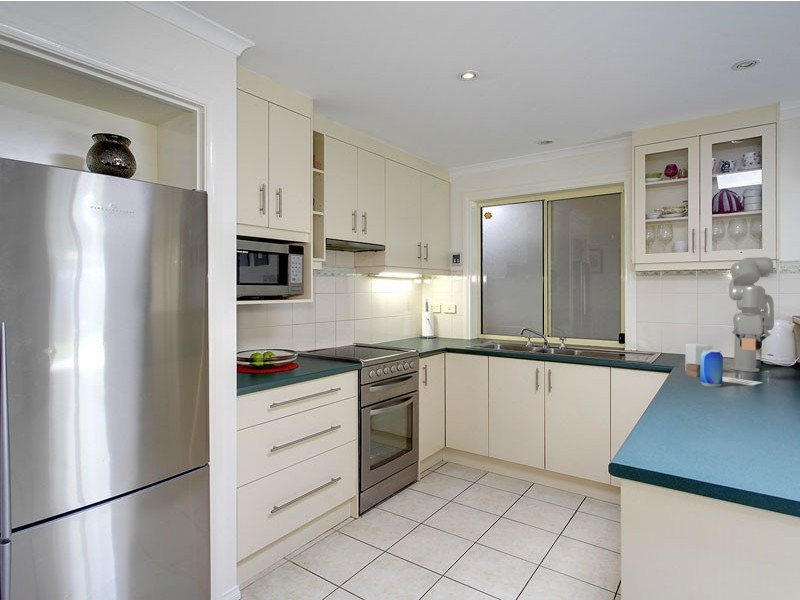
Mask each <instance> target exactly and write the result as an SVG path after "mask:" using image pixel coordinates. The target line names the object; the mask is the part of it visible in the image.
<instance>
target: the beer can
mask: <svg viewBox="0 0 800 600" xmlns="http://www.w3.org/2000/svg"><path fill="white" fill-rule="evenodd" d="M723 360H724V356H723V355H722V353H721V350H717V349H716V350H715V349H712V350H703V352H702V354H701V363H700V377H699V382H700V384H701V385H702V386H706V387H710V388H711V387H713V388H718V387H719V388H720V387H721V386H722V385H723V381H722V377H723V370H724V369H723V367H724V366H723V365H724V361H723Z"/></svg>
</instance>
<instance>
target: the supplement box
mask: <svg viewBox="0 0 800 600" xmlns="http://www.w3.org/2000/svg"><path fill="white" fill-rule="evenodd" d="M703 350H713V345H710V344H705V343H685V359H684V360H685V361H684V362H685V366H684V367H685V369H684V370H685V372H686V364H699V365H700V363H701V354H702V352H703Z"/></svg>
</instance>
